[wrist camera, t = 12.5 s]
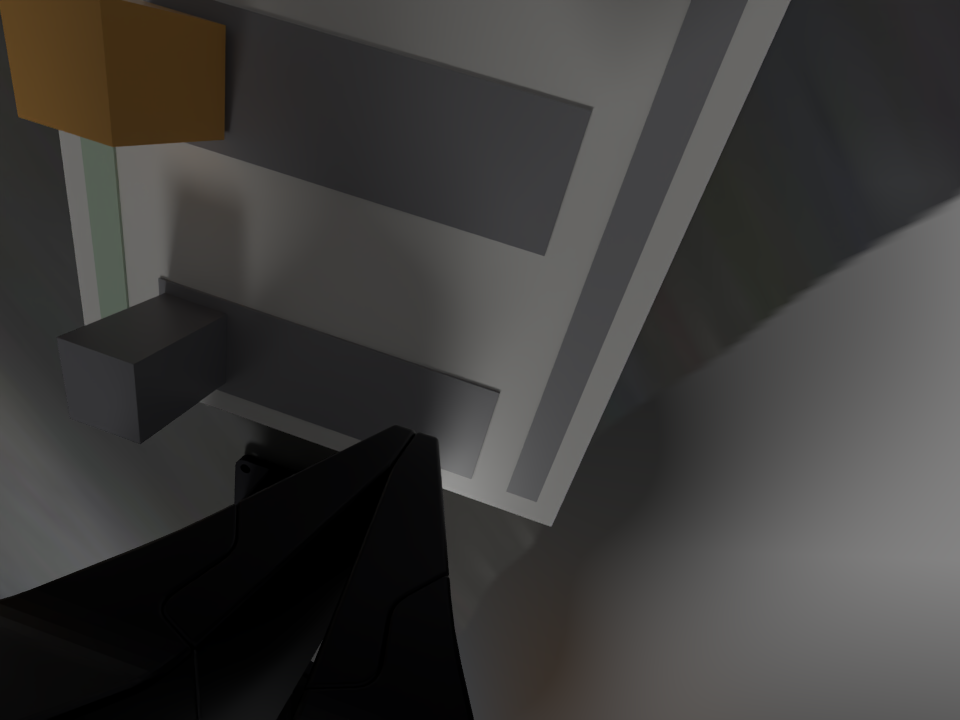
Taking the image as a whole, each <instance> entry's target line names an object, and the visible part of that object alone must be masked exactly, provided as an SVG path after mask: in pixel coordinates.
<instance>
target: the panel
mask: <svg viewBox="0 0 960 720" xmlns="http://www.w3.org/2000/svg"><path fill="white" fill-rule="evenodd" d="M142 1H146V2H149V3H153V4H156V5H159V6H163V7H166V8H170V9H173V10H176V11H180V12H183V13H186V14H190V15H193V16H196V17H200V18H203V19H207V20H210V21H213V22H217V23H220V24H223V25H226V43H225V132H224V140H213V141H198V142H182V143H167V144H152V145H137V146H122V147H111V146H108V145H105V144H102V143H98V142H95V141H92V140H89V139H86V138H83V137H80V136H77V135H73V134H70V133H67V132H64V131H61V130H59V137H60V144H61V151H62V159H63V166H64V174H65V181H66V189H67V196H68V204H69V211H70V219H71V226H72V234H73V241H74V249H75V256H76V264H77V271H78V278H79V286H80V293H81V301H82V308H83V316H84V323H85V326H83V327H81V328H78V329H76V330H73V331H71V332H68V333H66V334H64V335H61V336H59V337H57V343H58V349H59V355H60V361H61V367H62V373H63V379H64V385H65V391H66V397H67V403H68V409H69V415H70V419H73V420H75V421H78V422H81V423H83V424H86V425H89V426H92V427H94V428H97V429H100V430H103V431H105V432H108V433H111V434H114V435H116V436H119V437H122V438H125V439H127V440H130V441H133V442H136V443H138V444H141V443H143V442H144V441H145V440H147V439H148V438H150V437H151V436H152V435H154V434H155V433H157V432H158V431H159V430H161V429H162V428H164V427H165V426H166V425H168V424H169V423H170V422H172V421H173V420H175V419H176V418H177V417H179V416H180V415H182V414H183V413H184V412H186V411H187V410H189V409H190V408H191V407H193V406H194V405H196V404H197V403H198V402H201V403H204V404H207V405H209V406H212V407H215V408H218V409H221V410H223V411H226V412H229V413H232V414H235V415H238V416H240V417H243V418H246V419H249V420H252V421H254V422H257V423H260V424H263V425H266V426H269V427H271V428H274V429H277V430H280V431H283V432H285V433H288V434H291V435H294V436H297V437H300V438H302V439H305V440H308V441H311V442H314V443H316V444H319V445H322V446H325V447H328V448H331V449H333V450H336V451H339V452H340V451H342V450H344V449H346V448H348V447H350V446H352V445H354V444H356V443H358V442H360V441H362V440H364V439H366V438H368V437H370V436H372V435H374V434H376V433H378V432H380V431H383V430H385V429H387V428H389V427H391V426H393V425H400V426H403V427H406V428H409V429H412V430H414V431H415V432H416V433H418V432H422V433H425V434H428V435H431V436H435V437H437V438H438V440H439V451H440V464H441V477H442V488H443V489H446V490H449V491H452V492H455V493H457V494H460V495H463V496H466V497H469V498H472V499H474V500H477V501H480V502H483V503H486V504H488V505H491V506H494V507H497V508H500V509H503V510H505V511H508V512H511V513H514V514H517V515H519V516H522V517H525V518H528V519H531V520H534V521H536V522H539V523H542V524H545V525H548V526H550V527H551V526H552V524H553V522H554V519H555V517H556V515H557V513H558V511H559V508H560V506H561V504H562V502H563V500H564V497H565V495H566V493H567V491H568V489H569V487H570V484H571V482H572V480H573V478H574V476H575V473H576V471H577V469H578V467H579V465H580V462H581V460H582V458H583V456H584V454H585V451H586V449H587V447H588V445H589V443H590V440H591V438H592V436H593V434H594V432H595V429H596V427H597V425H598V423H599V421H600V418H601V416H602V414H603V412H604V410H605V407H606V405H607V403H608V401H609V399H610V396H611V394H612V392H613V390H614V388H615V385H616V383H617V381H618V379H619V377H620V374H621V372H622V370H623V368H624V366H625V363H626V361H627V359H628V357H629V355H630V352H631V350H632V348H633V346H634V344H635V341H636V339H637V337H638V335H639V333H640V330H641V328H642V326H643V324H644V322H645V319H646V317H647V315H648V313H649V311H650V308H651V306H652V304H653V302H654V300H655V297H656V295H657V293H658V291H659V289H660V286H661V284H662V282H663V280H664V278H665V275H666V273H667V271H668V269H669V267H670V264H671V262H672V260H673V258H674V256H675V253H676V251H677V249H678V247H679V245H680V242H681V240H682V238H683V236H684V234H685V231H686V229H687V227H688V225H689V223H690V221H691V218H692V216H693V214H694V212H695V210H696V207H697V205H698V203H699V201H700V199H701V196H702V194H703V192H704V190H705V188H706V185H707V183H708V181H709V179H710V177H711V174H712V172H713V170H714V168H715V166H716V163H717V161H718V159H719V157H720V155H721V152H722V150H723V148H724V146H725V144H726V141H727V139H728V137H729V135H730V133H731V130H732V128H733V126H734V124H735V122H736V119H737V117H738V115H739V113H740V111H741V108H742V106H743V104H744V102H745V100H746V97H747V95H748V93H749V91H750V89H751V86H752V84H753V82H754V80H755V78H756V75H757V73H758V71H759V69H760V67H761V64H762V62H763V60H764V58H765V56H766V53H767V51H768V49H769V47H770V45H771V42H772V40H773V38H774V36H775V34H776V31H777V29H778V27H779V25H780V23H781V20H782V18H783V16H784V14H785V12H786V9H787V7H788V5H789V3H790V1H791V0H142Z"/></svg>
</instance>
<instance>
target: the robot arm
mask: <svg viewBox="0 0 960 720" xmlns="http://www.w3.org/2000/svg"><path fill="white" fill-rule="evenodd" d="M448 576H449V568H448V555H447V542H446V529H445V516H444V503H443V490H442V477H441V464H440V451H439V440H438V438H437V437H435V436H431V435H428V434H425V433H422V432H418V433H416V432H415V431H414V430H412V429H409V428H406V427H403V426H400V425H393V426H391V427H389V428H387V429H385V430H383V431H380V432H378V433H376V434H374V435H372V436H370V437H368V438H366V439H364V440H362V441H360V442H358V443H356V444H354V445H352V446H350V447H348V448H346V449H344V450H342V451H340V452H338V453H336V454H334V455H332V456H330V457H328V458H326V459H324V460H322V461H320V462H318V463H316V464H314V465H312V466H310V467H308V468H306V469H304V470H302V471H300V472H295V471H292V470H289V469H287V468H284V467H281V466H278V465H275V464H273V463H270V462H267V461H264V460H262V459H259V458H256V457H253V456H250V455H244V456H243V457H242V458H241V459H240V460H238V461H237V462H236V468H235V502H234V504H233V505H231V506H228V507H226V508H224V509H222V510H220V511H218V512H216V513H214V514H212V515H210V516H208V517H206V518H204V519H202V520H199V521H197V522H195V523H193V524H191V525H189V526H187V527H184V528H182V529H180V530H178V531H176V532H173V533H171V534H168V535H166V536H164V537H161V538H159V539H156V540H154V541H152V542H149V543H147V544H144V545H142V546H140V547H137V548H135V549H132V550H130V551H127V552H125V553H122V554H120V555H117V556H114V557H112V558H109V559H107V560H104V561H102V562H99V563H97V564H94V565H92V566H89V567H87V568H84V569H82V570H79V571H76V572H74V573H71V574H69V575H66V576H64V577H61V578H59V579H56V580H54V581H51V582H49V583H46V584H44V585H41V586H39V587H36V588H33V589H31V590H28V591H25V592H22V593H20V594H17V595H14V596H11V597H7V598H4V599H0V720H474V717H473V713H472V709H471V704H470V700H469V695H468V691H467V687H466V682H465V678H464V673H463V669H462V665H461V660H460V654H459V649H458V644H457V638H456V633H455V627H454V618H453V610H452V601H451V590H450V579H449V577H448ZM322 640H323V641H322ZM321 642H322V643H321ZM320 644H321V646H320V648H319V651H318V653H317V656H316V658H315V661H314V662H312V661H311V659H312V657H313V656H314V654H315V652H316V650H317V649H318V647H319V645H320Z"/></svg>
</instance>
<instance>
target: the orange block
mask: <svg viewBox="0 0 960 720" xmlns="http://www.w3.org/2000/svg"><path fill="white" fill-rule="evenodd" d="M0 10H1V16H2V22H3V28H4V34H5V40H6V46H7V52H8V58H9V64H10V70H11V76H12V82H13V88H14V94H15V100H16V106H17V112H18V117H20V118H24V119H27V120H30V121H33V122H36V123H39V124H42V125H45V126H48V127H52V128H55V129H58V130H61V131H64V132H67V133H70V134H73V135H77V136H80V137H83V138H86V139H89V140H92V141H95V142H98V143H102V144H105V145H108V146H111V147H122V146H137V145H152V144H167V143H182V142H198V141H213V140H224V132H225V43H226V25H223V24H220V23H217V22H213V21H210V20H207V19H203V18H200V17H196V16H193V15H190V14H186V13H183V12H180V11H176V10H173V9H170V8H166V7H163V6H159V5H156V4H153V3H149V2H146V1H142V0H0Z"/></svg>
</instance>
